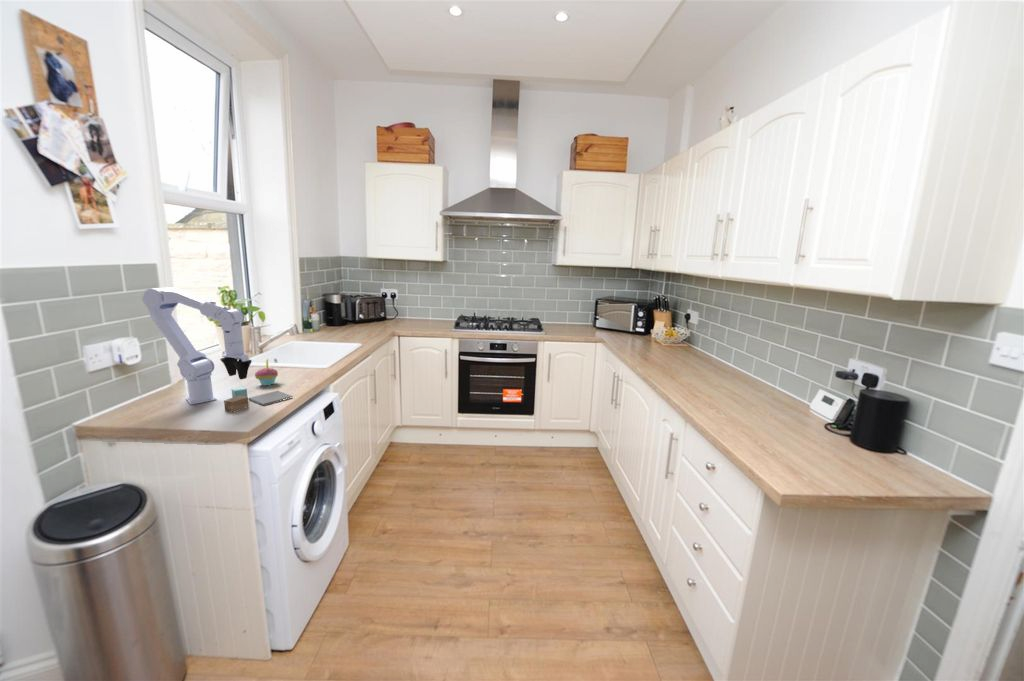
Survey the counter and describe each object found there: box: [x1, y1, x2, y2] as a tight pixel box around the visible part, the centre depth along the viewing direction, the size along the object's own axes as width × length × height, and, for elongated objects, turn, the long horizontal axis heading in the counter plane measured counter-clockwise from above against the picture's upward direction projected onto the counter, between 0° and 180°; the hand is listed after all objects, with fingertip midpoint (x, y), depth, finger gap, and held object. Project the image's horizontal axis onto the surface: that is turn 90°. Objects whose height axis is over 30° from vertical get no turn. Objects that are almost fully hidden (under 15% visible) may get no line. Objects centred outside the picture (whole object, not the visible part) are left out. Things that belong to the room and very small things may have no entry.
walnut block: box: [223, 395, 250, 413], centre depth 147 cm, size 4×6×4 cm, turn 162°
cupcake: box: [254, 358, 279, 386], centre depth 174 cm, size 9×8×12 cm
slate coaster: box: [248, 390, 293, 406], centre depth 158 cm, size 11×11×1 cm
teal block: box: [230, 386, 248, 398], centre depth 154 cm, size 4×4×5 cm
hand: (237, 377), depth 153 cm, fingers open, 7 cm apart
